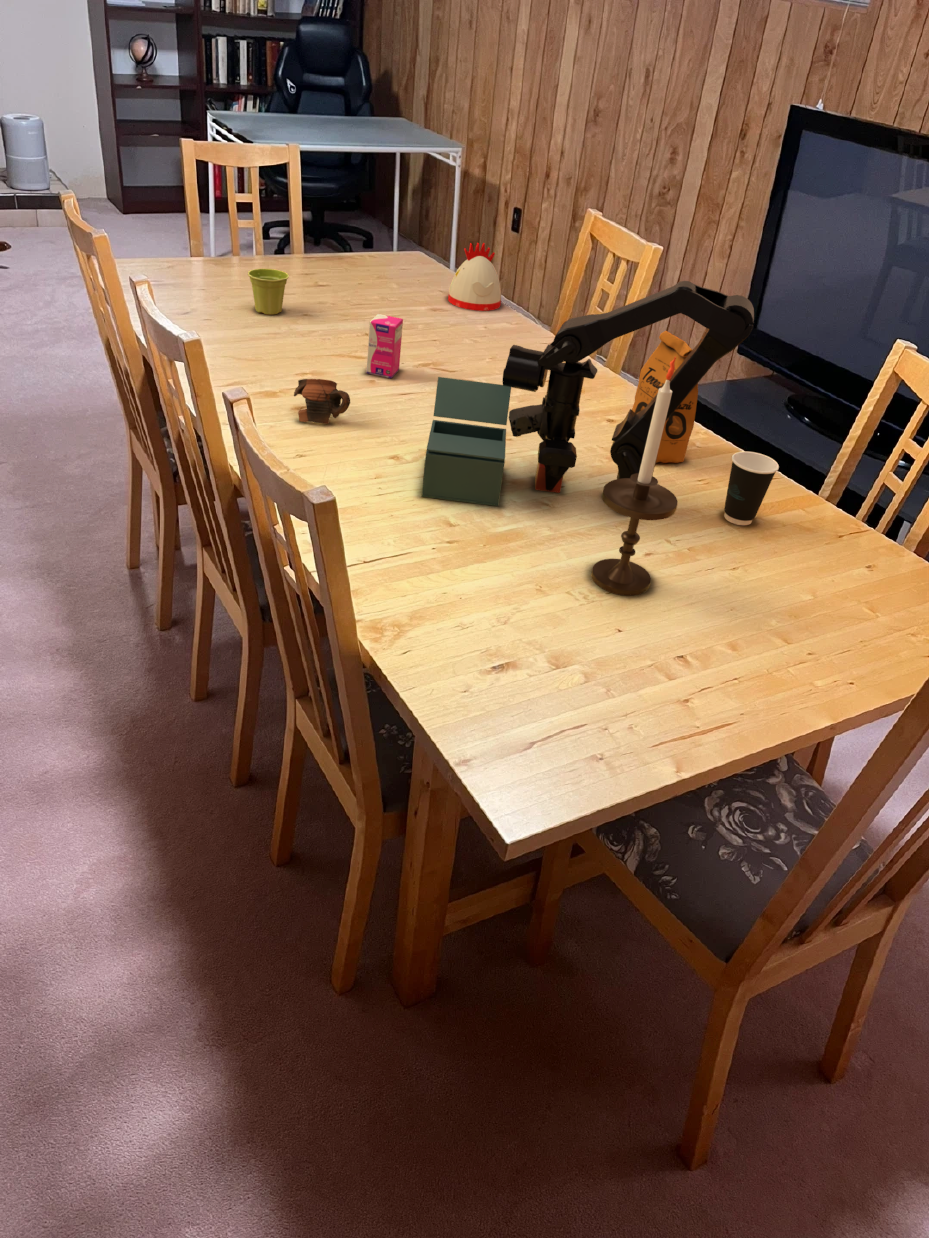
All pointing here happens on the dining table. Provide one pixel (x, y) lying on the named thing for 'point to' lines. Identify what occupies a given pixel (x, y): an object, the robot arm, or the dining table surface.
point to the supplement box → (384, 345)
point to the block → (540, 480)
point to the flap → (472, 401)
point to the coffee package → (648, 386)
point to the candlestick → (637, 507)
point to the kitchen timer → (476, 282)
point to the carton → (464, 463)
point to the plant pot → (268, 289)
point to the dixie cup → (748, 485)
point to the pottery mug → (321, 400)
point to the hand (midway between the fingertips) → (548, 480)
